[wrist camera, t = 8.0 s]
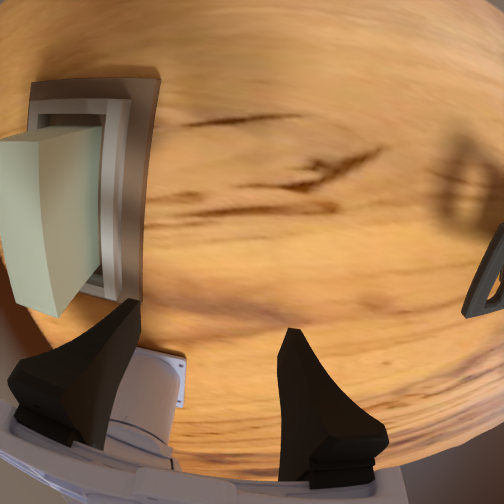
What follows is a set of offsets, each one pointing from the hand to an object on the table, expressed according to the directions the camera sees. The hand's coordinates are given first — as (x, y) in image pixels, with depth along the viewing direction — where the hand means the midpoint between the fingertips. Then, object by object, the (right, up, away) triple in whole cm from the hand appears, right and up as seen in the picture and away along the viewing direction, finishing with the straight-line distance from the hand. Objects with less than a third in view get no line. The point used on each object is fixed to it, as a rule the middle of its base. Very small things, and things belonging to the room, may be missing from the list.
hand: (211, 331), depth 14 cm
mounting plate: (-11, +8, +6) cm, 15 cm away
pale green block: (-11, +8, +6) cm, 15 cm away
